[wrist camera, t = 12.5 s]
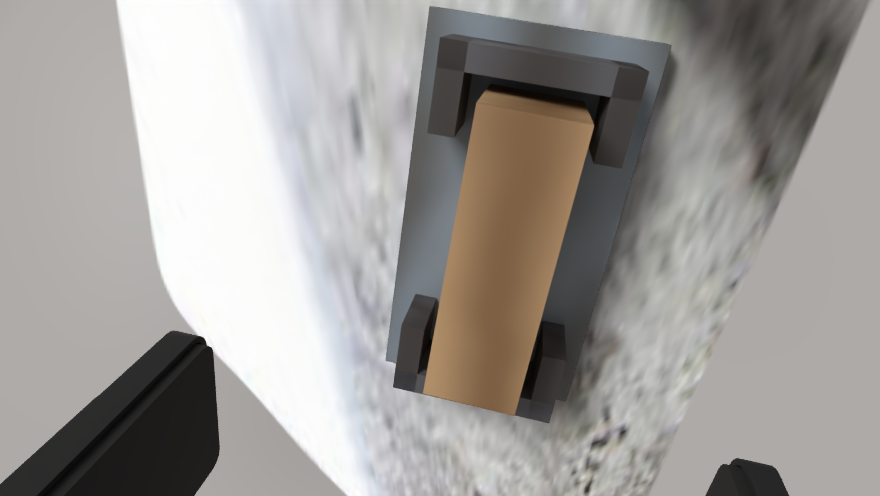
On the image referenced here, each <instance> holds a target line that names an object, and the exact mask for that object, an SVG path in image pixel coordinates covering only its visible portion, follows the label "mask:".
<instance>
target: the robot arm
mask: <svg viewBox="0 0 880 496" xmlns="http://www.w3.org/2000/svg"><path fill="white" fill-rule="evenodd" d="M219 447H220V446H219V432H218V416H217V403H216V387H215V372H214V358H213V350H212V348H211V347H209V346H207V345H206V341H205V339H204V338H203V337H200V336H196V335H192V334H187V333H183V332H178V331H171V332H169V333H168V334H166V335H165V336H164V337H163V338H162V339H161V340H159V342H157V343H156V344H155V345H154V346H153V347H152V348H151V349H150V350H148V351H147V352H146V353H145V354H144V355H143V356H142V357H141V358H140V359H139V360H138V361H137V362H135V363H134V364H133V365H132V366H131V367H130V368H129V369H128V370H126V371H125V372H124V373H123V374H122V375H121V376H120V377H119V378H118V379H117V380H116V381H114V383H112V384H111V385H110V386H109V387H108V388H107V389H106V390H105V391H103V392H102V393H101V394H100V395H99V396H97V397H96V398H95V399H94V400H92V401H91V402H90V403H89V404H88V405H87V406H86V407H85V408H84V409H83V410H82V411H80V412H79V413H78V414H77V415H76V416H75V417H74V418H73V419H72V420H70V421H69V422H68V423H67V424H66V425H65V426H64V427H63V428H62V429H61V430H59V431H58V432H57V433H56V434H55V435H54V436H53V437H52V438H51V439H50V440H48V442H46V443H45V444H44V445H43V446H42V447H41V448H40V449H39V450H37V451H36V452H35V453H34V454H33V455H32V456H31V457H30V458H29V459H27V460H26V461H25V462H24V463H23V464H22V465H21V466H20V467H19V468H18V469H17V470H15V471H14V473H12V474H11V475H10V476H9V477H8V478H7V479H5V480H4V481H3V482H2V483H1V484H0V496H194V495H195V494H196V492H197V491H198V489H199V488H200V487H201V485H202V484H203V482H204V481H205V480H206V478H207V477H208V475H209V474H210V472H211V471H212V469H213V468H214V466H215V464H216V462H217V459H218V456H219V449H220V448H219ZM706 496H789V495H788V492H787V490H786V488H785V486H784V484H783V481H782V479H781V477H780V475H779V473H778V471H777V470H776V469H775V468H774V467H773V466H770V465H766V464H761V463H757V462H752V461H748V460H744V459H739V458H736V459H734V460H733V461H732V462H731V464H730V465H727V464H723V465H721V466H720V468H719V469H718V471H717V473H716V475H715V477H714V479H713V482H712V483H711V485H710V488H709V489H708V492H707V494H706Z"/></svg>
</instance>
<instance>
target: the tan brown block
mask: <svg viewBox="0 0 880 496" xmlns="http://www.w3.org/2000/svg"><path fill="white" fill-rule="evenodd" d="M593 129H594V124H593V121H592V119H591V116H590V114H589V112H588V109H587V107H586V105H585V102H584V101H579V100H573V99H568V98H563V97H558V96H552V95H547V94H542V93H537V92H531V91H526V90H521V89H516V88H510V87H505V86H500V85H495V84H490V85H489V86H488V88H487V89H486V90H485V92H484V93H483V94H482V96H481V97H480V98H479V100H478V101H477V103H476V107H475V113H474V118H473V124H472V129H471V134H470V140H469V145H468V151H467V156H466V162H465V167H464V173H463V178H462V183H461V189H460V194H459V200H458V205H457V211H456V216H455V221H454V227H453V232H452V238H451V243H450V249H449V254H448V260H447V265H446V270H445V276H444V281H443V287H442V292H441V298H440V303H439V308H438V314H437V319H436V325H435V330H434V336H433V341H432V346H431V352H430V357H429V363H428V368H427V374H426V379H425V385H424V390H423V394H427V395H431V396H435V397H439V398H443V399H447V400H452V401H456V402H460V403H464V404H468V405H472V406H476V407H480V408H484V409H488V410H492V411H496V412H501V413H505V414H509V415H513V416H515V412H516V409H517V405H518V401H519V398H520V394H521V390H522V387H523V383H524V380H525V376H526V372H527V369H528V365H529V361H530V358H531V354H532V350H533V347H534V343H535V340H536V336H537V332H538V329H539V325H540V321H541V318H542V314H543V311H544V307H545V303H546V300H547V296H548V292H549V289H550V285H551V281H552V278H553V274H554V271H555V267H556V263H557V260H558V256H559V252H560V249H561V245H562V241H563V238H564V234H565V231H566V227H567V223H568V220H569V216H570V212H571V209H572V205H573V201H574V198H575V194H576V191H577V187H578V183H579V180H580V176H581V172H582V169H583V165H584V161H585V158H586V154H587V151H588V147H589V143H590V140H591V136H592V132H593Z"/></svg>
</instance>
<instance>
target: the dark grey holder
mask: <svg viewBox="0 0 880 496" xmlns="http://www.w3.org/2000/svg"><path fill="white" fill-rule="evenodd" d="M670 49H671V45H669V44H665V43H659V42H653V41H647V40H640V39H634V38H628V37H622V36H615V35H609V34H603V33H597V32H590V31H584V30H578V29H571V28H565V27H559V26H553V25H546V24H540V23H534V22H528V21H521V20H515V19H509V18H503V17H496V16H490V15H484V14H478V13H471V12H465V11H459V10H453V9H446V8H440V7H431V6H430V7H429V15H428V23H427V31H426V39H425V47H424V56H423V64H422V72H421V80H420V88H419V96H418V104H417V112H416V120H415V128H414V136H413V144H412V152H411V160H410V168H409V176H408V184H407V192H406V200H405V209H404V217H403V225H402V233H401V241H400V249H399V257H398V265H397V273H396V281H395V289H394V297H393V305H392V313H391V321H390V329H389V337H388V345H387V353H386V361H389V362H394V363H396V369H395V377H394V384H393V387H394V388H398V389H403V390H407V391H411V392H416V393H420V394H423V390H424V385H425V379H426V374H427V368H428V363H429V357H430V352H431V346H432V341H433V336H434V330H435V325H436V319H437V314H438V308H439V303H440V298H441V292H442V287H443V281H444V276H445V270H446V265H447V260H448V254H449V249H450V243H451V238H452V232H453V227H454V221H455V216H456V211H457V205H458V200H459V194H460V189H461V183H462V178H463V173H464V167H465V162H466V156H467V151H468V145H469V140H470V134H471V129H472V124H473V118H474V113H475V107H476V103H477V101H478V100H479V98H480V97H481V96H482V94H483V93H484V92H485V90H486V89H487V88H488V86H489V85H490V84H495V85H500V86H505V87H510V88H516V89H521V90H526V91H531V92H537V93H542V94H547V95H552V96H558V97H563V98H568V99H573V100H579V101H584V102H585V105H586V107H587V109H588V112H589V114H590V116H591V119H592V121H593V124H594V129H593V132H592V136H591V140H590V143H589V147H588V151H587V154H586V158H585V161H584V165H583V169H582V172H581V176H580V180H579V183H578V187H577V191H576V194H575V198H574V201H573V205H572V209H571V212H570V216H569V220H568V223H567V227H566V231H565V234H564V238H563V241H562V245H561V249H560V252H559V256H558V260H557V263H556V267H555V271H554V274H553V278H552V281H551V285H550V289H549V292H548V296H547V300H546V303H545V307H544V311H543V314H542V318H541V321H540V325H539V329H538V332H537V336H536V340H535V343H534V347H533V350H532V354H531V358H530V361H529V365H528V369H527V372H526V376H525V380H524V383H523V387H522V390H521V394H520V398H519V401H518V405H517V409H516V412H515V415H516V416H520V417H524V418H529V419H533V420H537V421H542V422H546V423H549V421H550V418H551V414H552V411H553V407H554V404H555V400H556V399H558V400H562V401H566V399H567V396H568V393H569V389H570V386H571V382H572V379H573V376H574V372H575V369H576V366H577V362H578V359H579V355H580V352H581V349H582V345H583V342H584V339H585V335H586V332H587V328H588V325H589V322H590V318H591V315H592V312H593V308H594V305H595V301H596V298H597V295H598V291H599V288H600V285H601V281H602V278H603V275H604V271H605V268H606V264H607V261H608V258H609V254H610V251H611V248H612V244H613V241H614V237H615V234H616V231H617V227H618V224H619V221H620V217H621V214H622V210H623V207H624V204H625V200H626V197H627V194H628V190H629V187H630V183H631V180H632V177H633V173H634V170H635V167H636V163H637V160H638V156H639V153H640V150H641V146H642V143H643V140H644V136H645V133H646V129H647V126H648V123H649V119H650V116H651V113H652V109H653V106H654V103H655V99H656V96H657V92H658V89H659V86H660V82H661V79H662V76H663V72H664V69H665V65H666V62H667V59H668V55H669V52H670ZM424 395H427V394H424ZM429 396H431V395H429ZM433 397H435V396H433ZM437 398H439V397H437ZM442 399H443V398H442ZM446 400H447V399H446ZM450 401H452V400H450ZM455 402H456V401H455ZM459 403H460V402H459ZM463 404H464V403H463Z"/></svg>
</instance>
